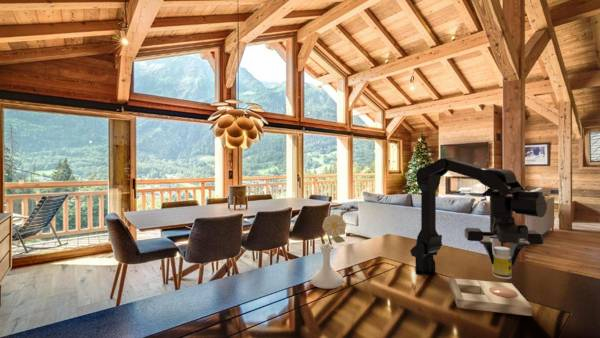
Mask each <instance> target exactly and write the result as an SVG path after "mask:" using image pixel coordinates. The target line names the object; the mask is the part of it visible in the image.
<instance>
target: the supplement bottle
mask: <svg viewBox="0 0 600 338" xmlns="http://www.w3.org/2000/svg"><path fill="white" fill-rule="evenodd" d="M493 259H494V263H493V264H492V275H493V276H494V277H495V278H498V279H504V280H510V279H512V277H513V276H512V275H513V274H512V273H513V271H512V270H513V269H512V268H513V265H512V258H511V256H510V247H506V246H494V247H493Z"/></svg>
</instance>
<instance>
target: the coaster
mask: <svg viewBox="0 0 600 338" xmlns="http://www.w3.org/2000/svg"><path fill="white" fill-rule="evenodd" d="M489 291H490V292H491V293H493V294H495V295H497V296H501V297H506V298H514V297H517V296H518V294H517V292H515V291H514V290H512V289H509V288H505V287H490V288H489Z"/></svg>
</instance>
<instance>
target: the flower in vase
mask: <svg viewBox="0 0 600 338" xmlns="http://www.w3.org/2000/svg"><path fill="white" fill-rule="evenodd" d="M346 227H347V222H346V221H345V220H344V217H342V216H341V215H339V214H335V213H333V214H331V215H330V214H329V215H328V216H327V217H325V218H324V220H323V222H322V229H323V231H324V233H325V234H326V235H327V236H330V237H331V238H330V240H329V241H328V240H327V239H325V238H323V237H320V236H319V239H321V240H323V241H325V242H327V243H322V244H319V245H318V248H319V249H320V250H321V253H322V259H323V261H322V262H323V264H322V267H321V268H320V269H318V270H317V272H314V274H313V275H312V276H311V278H310V282H311V284H312V285H313V286H314V287H317V288H319V289H326V290H329V289H336V288H339V287H340V286H342V285H343V284H344V282H345V281H344V278H343V276H342V275H341V274H340V273H339V272H337V271H336V270H335V269H333V268H332V266H331V262H330V261H331V259H330V258H331V251H332V249H333V248H334V245H333V244H331V242H332V240H333V241H334V242H335V243H336V244H340V243H343V242H345V239H344V238H343V237H342V236H341V235H343V234H344V233H345V230H346Z"/></svg>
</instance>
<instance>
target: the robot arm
mask: <svg viewBox="0 0 600 338" xmlns="http://www.w3.org/2000/svg"><path fill="white" fill-rule="evenodd" d="M448 172H452V173H456V174H459V175H462V176H464V177H468V178H470V179H474V180H476V181H478V182H480V184H481V185H483V186H485V187H487V189H486V190H485V191H484V192H483V193H481V195H482V196H483V197H489V215H488V216H489V231H484V230H483V231H482V230H481V228H479V227H466V228H465V229H464V237H465V239H466V240H467V241H469V242H479V243H480V244H481V245H483V248H484V249H485V252H486V254H487V256H488V259H489V262H490V263H491V265H493V263H494V259H493V253H494V250H493V242H492V240H491V239H497V240H498V242H500V243H502V244H507V243H508V244H510V245H509V249H510V254H509V255H510V256H511V258H512V266H514V265H515V263H516V261H517V258H518V256H519V254H520V252H521V251H522V249H524V248H525V247H529V246H530V245H544V236H543V235H542V234H541V233H540V232H537V231H536V230H531V229H529V227H528V225H523V224H521V225H520V224H518V225H516V223H515V221H516V220H515V216H514V213H515V214H516V215H521V216H528V217H529V216H530V217H538V218H543V217H545V215H546V213H547V208H548V203H547V202H546V198H545V197H544V196H543V192H542V191H538V190H535V191H527V190H526V188H524V186H522V185H521V183H520V182H519V181H518V179H517V176H516V174H515V172H514V171H513V170H510V169H507V168H506V169H505V168H494V167H491V168H490V167H483V166H479V165H476V164H472V163H470V162H469V163H468V162H465V161H461V160H458V159H455V158H453V157H440V158H439V159H437V160H436V161H434V162H432V163H430V164H428V165H426V166H423V167H420V168H419V169H417V171H416V172H415V173H416V174H415V178H416V184H417V186H418V188H419V190H420V197H421V199H420V200H421V203H420V207H421V209H420V210H421V211H420V216H421V218H420V220H421V222H420V226H421V227H420V228H421V229H420V231H419V232H418V234H417V236H416V241H415V242H416V244H415V245H414V246H413V247H412V248H411V249H410V250H409V252H410V255H411V256H412V257H414V259H415V266H414V269H415V274H419V275H427V276H429V275H430V276H435V274H436V273H435V272H436V260H435V258H434V257H435V256H438V254H439V253H438V252H439V251H440V250H441V248H442V246H443V241H442V240H443V235H442V234H439V233H438V232H437V229H436V224H437V223H436V221H437V219H436V216H437V215H436V212H437V211H436V210H437V207H436V206H437V205H436V203H437V201H436V200H437V199H436V197H437V195H436V194H437V193H436V192H437V190H438V188H439V186H440V183H441V178H442V177H443V176H444V175H446V174H447V173H448Z"/></svg>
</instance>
